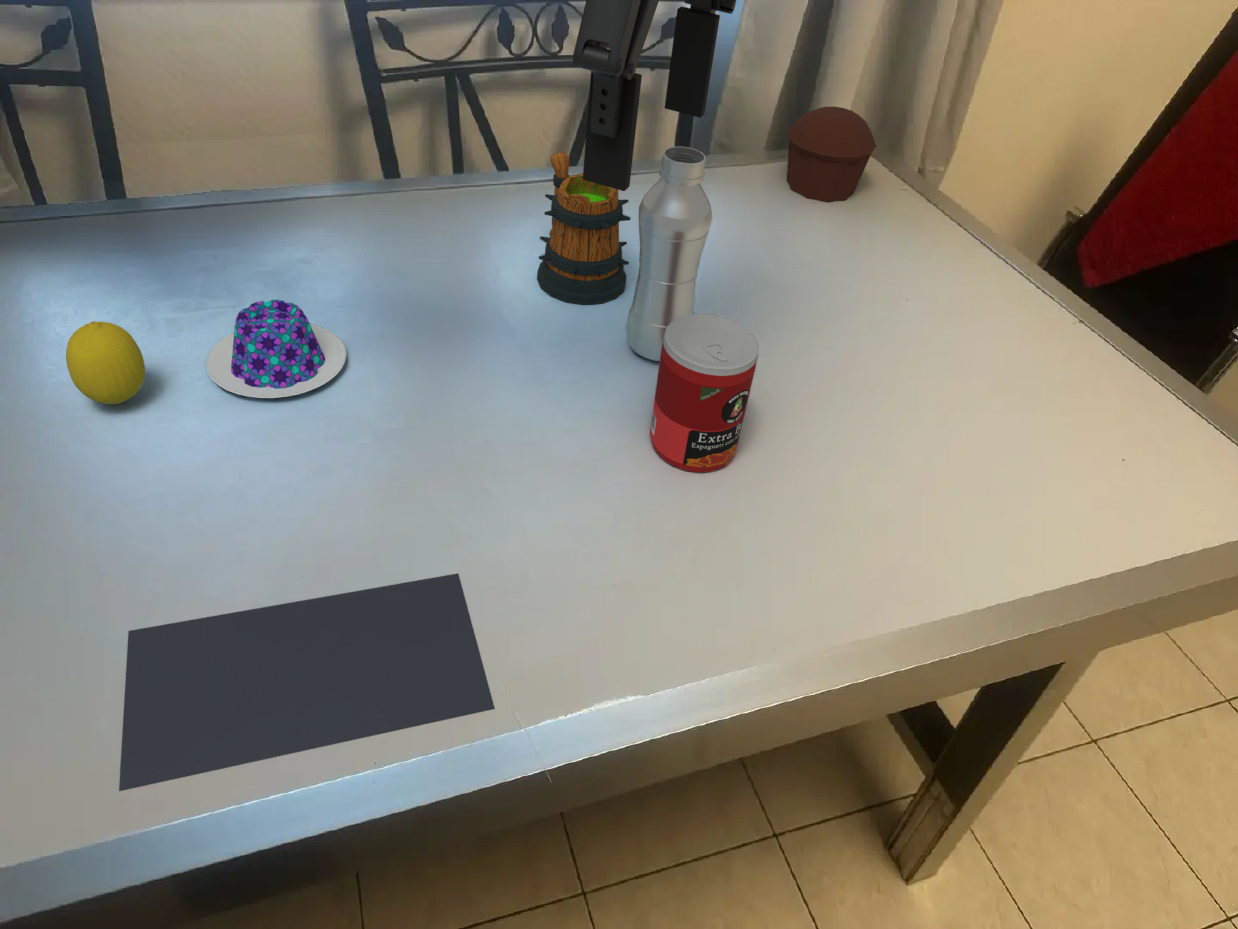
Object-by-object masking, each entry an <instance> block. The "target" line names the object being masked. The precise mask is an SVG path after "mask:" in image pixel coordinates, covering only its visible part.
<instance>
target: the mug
mask: <svg viewBox="0 0 1238 929" xmlns="http://www.w3.org/2000/svg"><path fill="white" fill-rule="evenodd" d="M549 161H550V163H551V164H550V165H551V166H552V169H553V170H554V174H553V175H552V176H553V178H552V181H553V182H552V185H553V186H554V191H553V192H554V193H553V194H549V193H546V194H544V197H545V198H547V199H548V200H549V201H551V205H550V210H547V211H544V212H543V213H544V216H548V217H551V228H550V231H549V233H548V235H549V237H548V236H539V240H541V241H543V242H544V243H545V247H544V254H542V255H539V256H538V259H539V260H540V261H541V260H542V261H541V262H540V263H539V266H538V269H537V271H536V281H537V283H538V286H539V287H540V289H541V290H542V291H543V292H544V293H546V294H547V295H548V296H550V297H551V298H553V299H556V300H558V301H562V302H564V303H568V304H573V305H574V304H575V305H580V306H581V305H583V306H589V305H590V306H591V305H601V304H605V303H608V302H610V301H614V300H616V299H617V298H618V297H620V295H622V294H623V293H624V292H625V289H626V284H627V277H628V276H627V273H626V272H625V269H624V268H625V265H626V266H627V265H630V262H629V260H626V259H624V258H623V247H624V246H626V245H627V244H628V242H627V241H620V222H625V221H631V219H632V218H631V217H630V216H628V215H626V214H624V208H623V206H624V205H626V204H627V203H629V202H630V201H629V199H620V198H619V190H618V189H615V188H611V187H607V186H604V185H600V184H597V183H593V182H590V181H586V180H583V172H582V173H578V174H571V175H569V170H570V157H569V155H568V153H567V152H557V153H554V154H551V155H550V158H549Z"/></svg>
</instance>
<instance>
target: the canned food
mask: <svg viewBox="0 0 1238 929" xmlns="http://www.w3.org/2000/svg"><path fill="white" fill-rule="evenodd" d="M759 349H760V347H759V343H758V340H757V337H755V335H754V334H753V333H752V332H751V331H750V330H748V329H747V328H746V327H745V326H743V325H742V324H740V323H738V322H736V321H734V320H732V319H729V318H726V317H724V316H719V315H715V314H708V313H707V314H706V313H694V315H687V316H683V317H680V318H678V319H675V320H674V321H673V322H671V323H670V324H669V325H668V326H667V328H666V331H665V335H664V337H663V343H662V348H661V355H660V361H658V362H659V363H658V371H657V377H656V385H655V391H654V398H653V406H652V412H651V419H650V421H651V422H650V427H649V437H650V441H651V445H652V448H653V450H654V452H655V453H656V455H658V457H660V459H661V460H663V461H664V462H666V463H667V464H669V465H670V466H672V467H675V468H676V469H679V470H683V471H686V472H692V473H709V472H713V471H717V470H720V469H721V468H723V467H725V466H726V465H728V463H730V461H731V460H732V459H733V457H734V455H735V453H736V452H737V449H738V445H739V442H740V436H741V432H742V428H743V424H744V419H745V415H746V411H747V406H748V402H749V398H750V394H751V389H752V385H753V382H754V376H755V372H756V369H757V362H758V359H759Z"/></svg>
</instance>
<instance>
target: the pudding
mask: <svg viewBox="0 0 1238 929" xmlns="http://www.w3.org/2000/svg"><path fill="white" fill-rule="evenodd" d="M233 328H234V329H233V332H231V333H229V334H227V335H226V336H225V337H223V338H221V339H220V340H219V341H218V342H217V343H216V344H215V345H214V346H213V347H212V348H211V350H210V351H209V353H208V354H207V358H206V360H205V361H206V362H205V363H206V364H205V365H206V366H205V367H206V371H207V374H208V376H209V377H210V378H211V380H212V381H213V382H214V383H215V384H216V385H217V386H219V387H220V388H222V389H224V390H226V391H228V392H230V393H233V394H236V395H239V396H245V397H249V398H258V399H276V398H286V397H293V396H296V395H302V394H304V393H307V392H310V391H313V390H315V389H318V388H319V387H321V386H323V385H325V384H326V383H328V382H330V381H331V380H332V379H333V378H335V377H336V376H337V375H338V374H339V373H340V371H341V370H342V369H343V367H344V365H345V363H346V360H347V359H346V358H347V350H346V347H345V344H344V343H343V341H342V340H341V339H340V338H339V336H338V335H336V334H335V333H333V331H331V330H329V329H326V328H325V327H323V326H319V325H316V324H313V323H310V321H309V319H308V317H307V316H306V314H305V313H304V311H303V309H302V308H301V307H300V306H299V305H297V304H295V303H293V302H286V301H285V300H281V299H270V300H268V301H265V300H259V301H256V302H253V303H251V304H250V305H249V306H248V307H245V308H243V309H241V310H240V311H239V312H238V314H237V316H236V318H235V324H234V327H233Z"/></svg>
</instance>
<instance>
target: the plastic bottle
mask: <svg viewBox="0 0 1238 929" xmlns="http://www.w3.org/2000/svg"><path fill="white" fill-rule="evenodd" d="M706 162H707V156H706V155H705V153H703V152H702V151H700V150H697V149H696V148H693V147H689V146H688V147H687V146H670V147H668V148H666V149H664V150H663V152H662V154H661V162H660V166H659V168H658V175H659V177H660V178H659V179H658V180H657V181H656V182H655V183H654V184H653V185H652V186H651V187H650V188H649V189H648V190H647V191H646V192H645V194H644V195H643V197H642V198H641V200H640V204H639V206H638V235H639V254H638V255H639V256H638V273H637V274H638V275H637V279H636V283H635V284H636V285H635V290H634V294H633V298H632V303H631V305H630V308H629V311H628V314H627V318H626V322H625V330H626V331H625V333H626V339H627V342H628V344H629V345H630V347H631V348H632V350H633V351H634V352H635V353H636V354H637V355H639V356H641V357H643V358H645V359H648V360H650V361H654V362H655V361H656V362H660V355H661V348H662V343H663V337H664V335H665V331H666V328H667V326H668V325H669V324H670V323H671V322H673V321H674V320H675V319H678V318H680V317H683V316H687V315H694V314H695V298H696V297H695V295H696V282H697V277H698V271H699V268H700V267H699V266H700V264H701V258H702V254H703V251H704V248H705V246H706V245H705V244H706V242H707V239H708V236H709V233H710V229H711V225H712V222H713V211H712V205H711V203H710V201H709V198H708V197H707V196H708V195H707V194H706V192H705V190H704V189H703V187H702V185H701V183H702V182H703V181H704V179H705V173H706V172H705V168H706Z"/></svg>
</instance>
